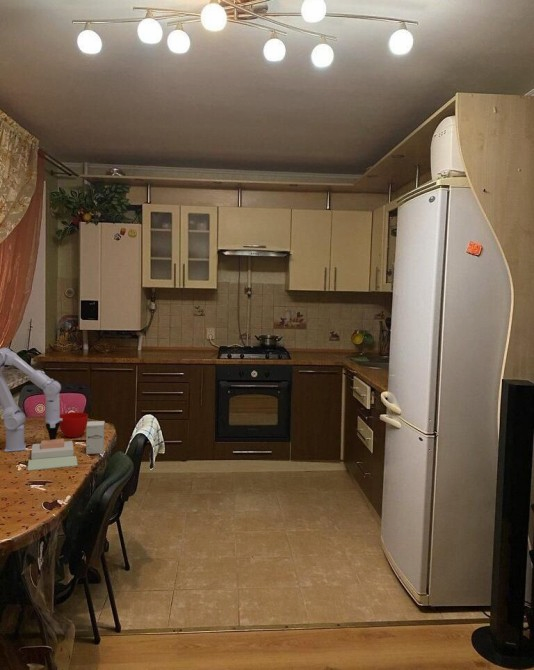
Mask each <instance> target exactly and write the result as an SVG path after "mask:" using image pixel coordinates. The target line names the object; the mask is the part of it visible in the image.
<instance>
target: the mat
mask: <svg viewBox="0 0 534 670" xmlns="http://www.w3.org/2000/svg"><path fill="white" fill-rule="evenodd" d="M70 466H71V467H78V459H77V455H74V456H69V457H58V458H47V459H36V460H32V459H28V463H27V471H26V472H29V471H39V470H40V471H41V470H51V469H61V467H62V468H69V467H70Z"/></svg>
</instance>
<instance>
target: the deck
mask: <svg viewBox="0 0 534 670" xmlns="http://www.w3.org/2000/svg"><path fill="white" fill-rule="evenodd" d="M74 453H75V452H74V443H73V440H67V441H64V447H61V448H49V449H41V443H33V444H32V445H31V454H30V455H31V460H36V459H47V458H58V457H69V456H75V455H74Z"/></svg>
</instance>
